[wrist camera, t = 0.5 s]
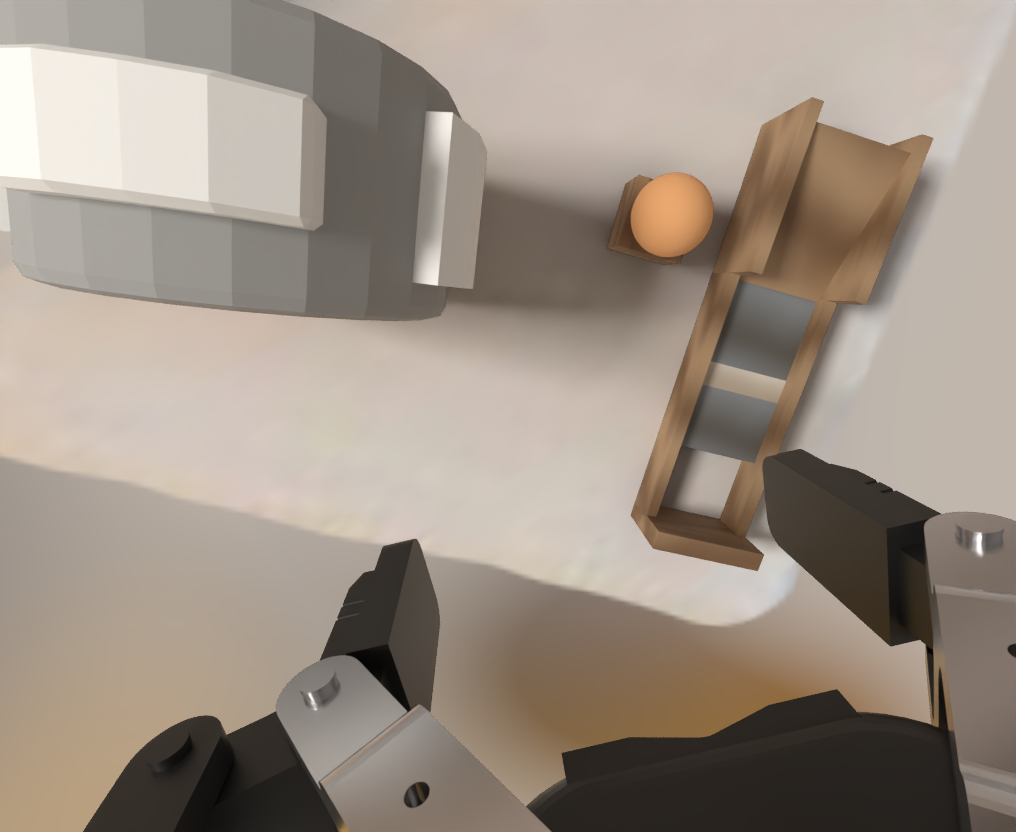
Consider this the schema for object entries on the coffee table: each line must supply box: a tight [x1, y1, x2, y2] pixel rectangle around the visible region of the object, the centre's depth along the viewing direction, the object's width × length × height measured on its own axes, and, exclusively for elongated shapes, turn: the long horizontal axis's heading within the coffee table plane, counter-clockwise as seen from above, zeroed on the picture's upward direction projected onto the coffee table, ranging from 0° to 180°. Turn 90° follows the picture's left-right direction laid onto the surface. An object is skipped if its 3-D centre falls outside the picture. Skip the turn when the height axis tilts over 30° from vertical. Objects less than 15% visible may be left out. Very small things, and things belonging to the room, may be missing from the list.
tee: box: [607, 175, 683, 265], centre depth 32 cm, size 4×4×3 cm
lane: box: [631, 97, 933, 571], centre depth 34 cm, size 27×7×5 cm, turn 165°
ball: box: [631, 173, 713, 257], centre depth 29 cm, size 4×4×4 cm
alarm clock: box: [0, 0, 487, 321], centre depth 23 cm, size 18×8×20 cm, turn 83°
